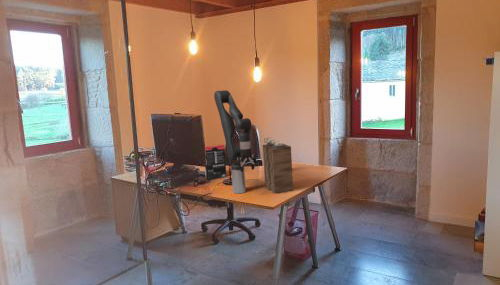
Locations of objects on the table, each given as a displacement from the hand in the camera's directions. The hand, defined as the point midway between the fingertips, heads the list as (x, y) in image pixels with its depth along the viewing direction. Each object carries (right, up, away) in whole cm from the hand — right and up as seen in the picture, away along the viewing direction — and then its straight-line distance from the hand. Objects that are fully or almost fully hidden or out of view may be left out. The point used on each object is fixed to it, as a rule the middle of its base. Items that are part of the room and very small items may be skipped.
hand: (247, 170), depth 264 cm
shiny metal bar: (+19, +18, +13) cm, 29 cm away
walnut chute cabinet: (+23, -14, +13) cm, 30 cm away
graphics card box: (-26, -10, +54) cm, 61 cm away
